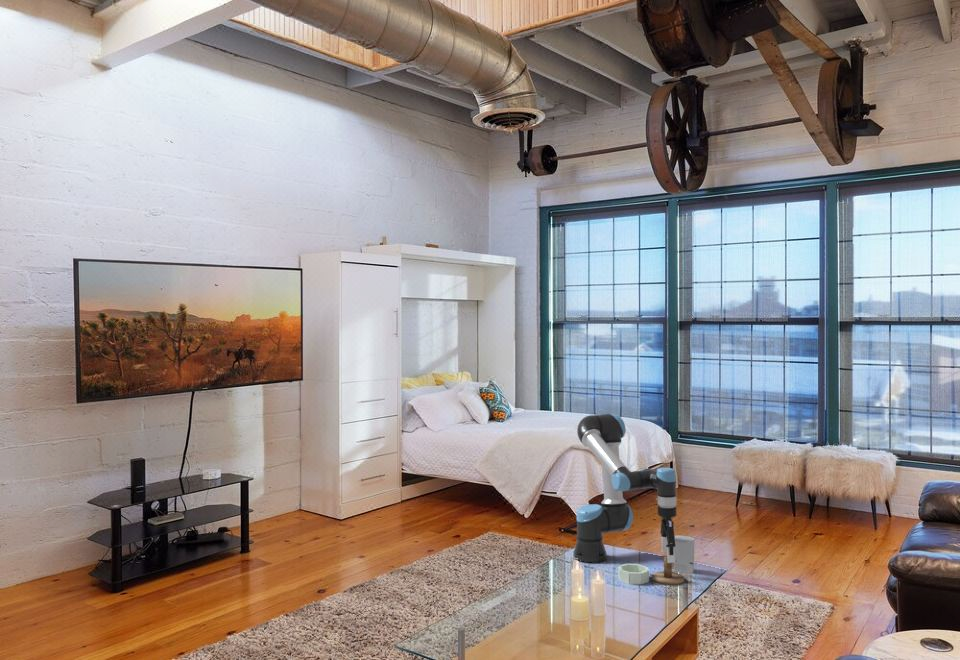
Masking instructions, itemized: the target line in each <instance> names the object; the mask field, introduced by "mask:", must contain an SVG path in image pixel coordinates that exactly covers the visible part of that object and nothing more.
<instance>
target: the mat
mask: <svg viewBox="0 0 960 660" xmlns="http://www.w3.org/2000/svg"><path fill="white" fill-rule="evenodd" d="M652 574H653V573H649V577H650V578H651V581H652V582H653V585H654V586H665V585H664V584H659V583H656V582H654V581H653V580H652ZM678 586H682V587H683V586H684V587H685V586H688V583H687V582H686V581H685V580H684V582H683V583H682V584H679V585H678Z"/></svg>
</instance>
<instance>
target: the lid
mask: <svg viewBox="0 0 960 660" xmlns="http://www.w3.org/2000/svg"><path fill="white" fill-rule="evenodd" d="M672 565H673V563H668V556H666V555H665V556H663V571H662V570H661V571H656V572H653V573H651V574H652V578H651V581H652V580H653V581H654V582H656V583H659V584H664V585H663V586H680V585H679V584H682V583H683V582H684V581H685V577H684V575H682V574H681V573H679V572H674V571H673V569H672V568H673V566H672ZM653 581H652V582H653Z"/></svg>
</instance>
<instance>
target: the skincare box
mask: <svg viewBox="0 0 960 660" xmlns="http://www.w3.org/2000/svg"><path fill="white" fill-rule="evenodd" d="M674 537H675V545H676V546H675V547H674V551H675V563H673V572H674V573H686V574H694V569H695V567H694V566H695V537H694V536H687V535H678V534H676V535H675V534H674Z"/></svg>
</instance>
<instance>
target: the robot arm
mask: <svg viewBox="0 0 960 660" xmlns="http://www.w3.org/2000/svg"><path fill="white" fill-rule="evenodd" d="M576 431H577V433H576V434H577V437H578V439H579V441H580V443H581V444H582V445H583V446H584V447H587V448H588V449H589V450H590V451H591V453H592V454H593V455H594V456H595V458H596V459H597V461H599V463H600V464H601V474H602V475H601V477H602V486H603V500H602V501H601V503H600V504H597V503H596V504H595V503H593V504H585V505H581V506H580V507H579V508H578V509H577V511H576V542H575V546H574V549H573V556H574V557H575V558H578V559H579V560H581V561H584V562H583V563H587V562H592V563H591V564H593V563H594V564H595V563H596V564H597V563H602V562H605V561H606V560H607V559H608V556H607V555H608V554H607V551H606V550H607V549H606V547H605V545H604V542H603V541H604V537H603V534H609V533H615V532H616V533H617V532H622V531H626V530H628V529H630V527H631V526H632V524H633V520H634V513H633V510H632V508H631V506H630V505H629V504H627V502H628V501H627V500H626V499H625V498H624V496H623V492H628V491H634V490H643V489H645V490H646V489H654V490H657V495H656V496H657V497H656V498H655V500H656V501H657V505H658V506H657V515H658V516H659V517H661V521H660V523H661V524H660V531H659V532H660V537H661V553H662V554H667V556H668V563H672V564H674V563H675V551H674V547H675V546H676V545H675V528H674V520H672V518H675V517H676V516H677V514H678V513H677V478H676V471H675V469H674V468H671V467H659V468H657V469H656V470H655V469H653V468H647V467H646V468H645V467H644V468H642V469H640V470H636V471H634V470H633V471H630V470H629V468H628V467H627V466H626V465H625V463H624V462H622V460H621V459H620V448H619V446H620V445H621V444H622V439H623V438H624V437H625V434H626V431H627V430H626V424H625V422H624V420H623V418H622V417H621V416H620V415H619V414H615V413H606V414H594V415H593V414H591V415H590V414H589V415H587V416H585V417H583V418H582V419H581V420H580V421H579V423H578V425H577V430H576ZM574 557H573V558H574ZM581 561H580V562H581Z"/></svg>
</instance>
